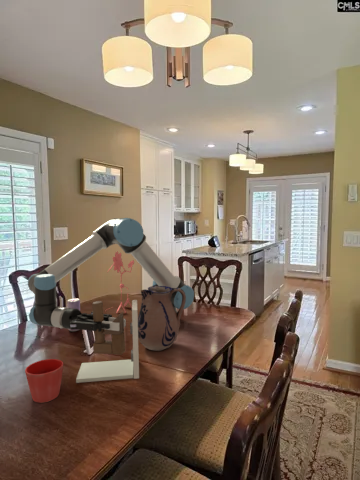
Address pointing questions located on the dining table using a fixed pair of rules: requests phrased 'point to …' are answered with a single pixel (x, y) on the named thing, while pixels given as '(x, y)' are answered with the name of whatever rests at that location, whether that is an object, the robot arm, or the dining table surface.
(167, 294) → the ceramic pitcher
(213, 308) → the dining table surface
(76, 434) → the dining table surface
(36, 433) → the dining table surface
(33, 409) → the dining table surface
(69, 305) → the beverage can
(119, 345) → the wooden block
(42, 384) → the flower pot
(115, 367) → the white l-shaped bracket
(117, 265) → the figurine
